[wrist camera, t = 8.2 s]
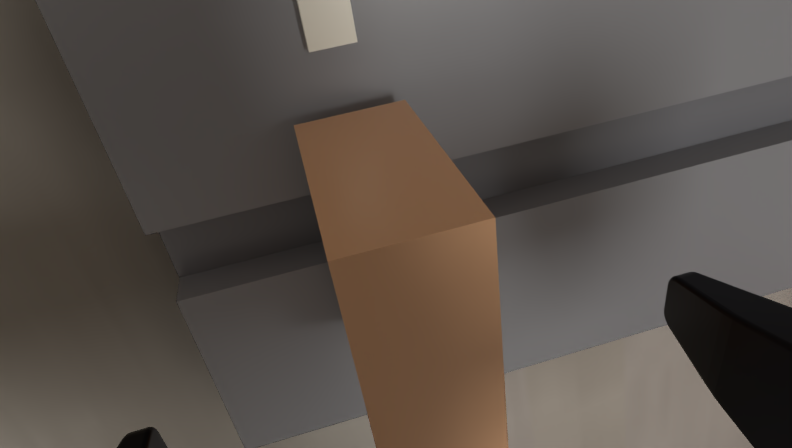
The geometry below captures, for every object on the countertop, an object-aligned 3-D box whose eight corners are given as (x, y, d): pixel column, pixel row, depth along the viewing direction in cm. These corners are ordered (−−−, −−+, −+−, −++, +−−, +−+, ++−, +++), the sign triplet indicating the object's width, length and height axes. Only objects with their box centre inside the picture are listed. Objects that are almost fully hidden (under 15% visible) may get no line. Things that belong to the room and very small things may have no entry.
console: (821, 234, 22) (877, 268, 20) (244, 400, 19) (246, 459, 17) (972, -231, 14) (1087, -247, 12) (41, -66, 11) (3, -52, 9)
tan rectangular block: (422, 282, 16) (509, 470, 11) (340, 304, 16) (392, 508, 11) (391, 81, 13) (495, 217, 8) (288, 104, 13) (327, 261, 8)
